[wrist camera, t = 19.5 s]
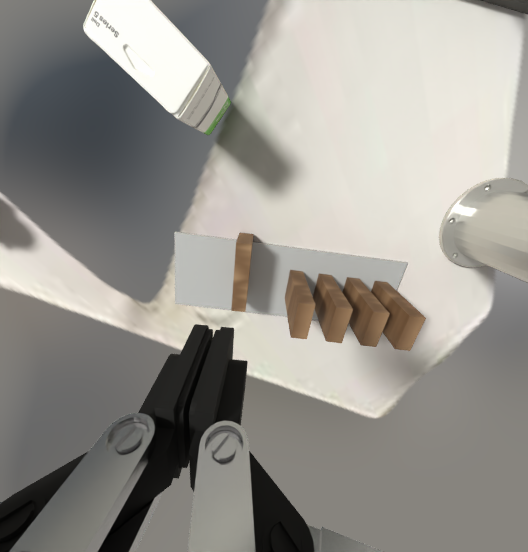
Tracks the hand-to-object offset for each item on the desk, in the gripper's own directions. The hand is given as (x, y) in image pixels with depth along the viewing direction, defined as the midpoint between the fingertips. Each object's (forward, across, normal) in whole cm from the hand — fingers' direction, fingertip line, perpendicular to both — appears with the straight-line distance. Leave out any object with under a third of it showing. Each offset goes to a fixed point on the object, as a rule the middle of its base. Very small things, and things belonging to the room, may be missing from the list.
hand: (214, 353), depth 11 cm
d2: (+27, -16, +9) cm, 32 cm away
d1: (+27, -20, +9) cm, 35 cm away
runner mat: (+27, -6, +9) cm, 29 cm away
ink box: (+26, +8, -15) cm, 31 cm away
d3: (+26, -12, +9) cm, 30 cm away
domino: (+24, +1, +1) cm, 24 cm away
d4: (+26, -7, +9) cm, 29 cm away
